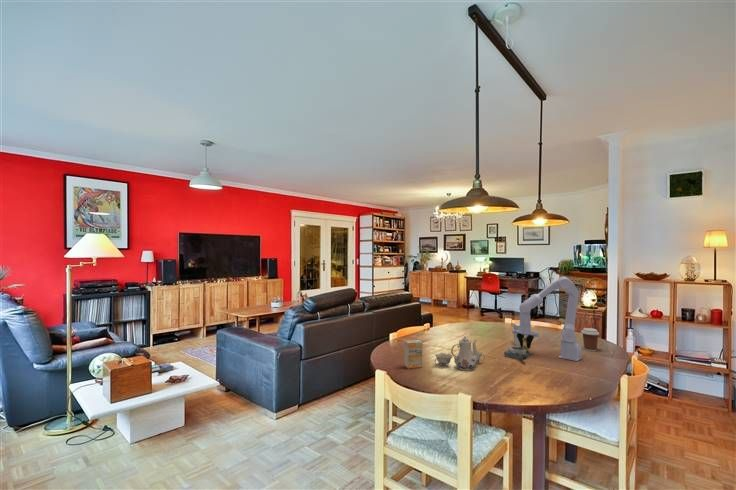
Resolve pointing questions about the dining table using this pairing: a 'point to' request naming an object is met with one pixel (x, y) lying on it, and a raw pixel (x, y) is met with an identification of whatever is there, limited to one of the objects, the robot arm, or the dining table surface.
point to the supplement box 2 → (516, 327)
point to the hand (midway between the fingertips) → (525, 347)
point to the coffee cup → (590, 339)
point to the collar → (518, 351)
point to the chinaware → (462, 356)
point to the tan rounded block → (525, 344)
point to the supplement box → (413, 354)
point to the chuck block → (515, 355)
